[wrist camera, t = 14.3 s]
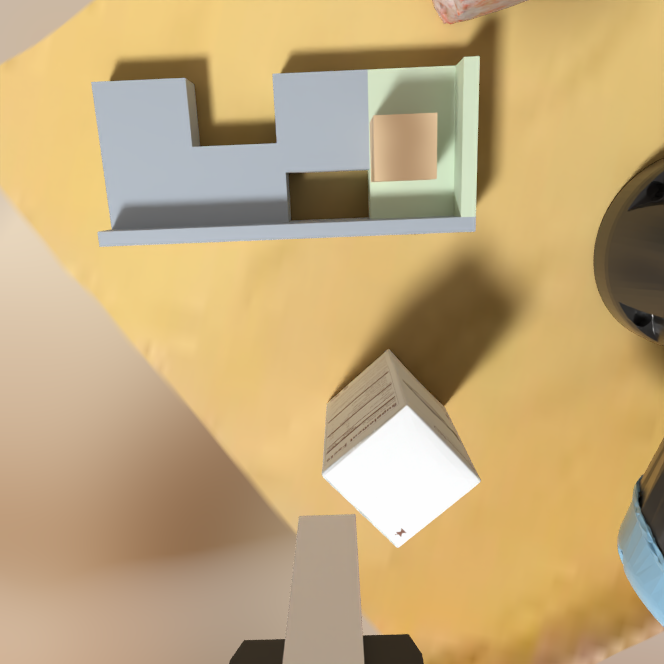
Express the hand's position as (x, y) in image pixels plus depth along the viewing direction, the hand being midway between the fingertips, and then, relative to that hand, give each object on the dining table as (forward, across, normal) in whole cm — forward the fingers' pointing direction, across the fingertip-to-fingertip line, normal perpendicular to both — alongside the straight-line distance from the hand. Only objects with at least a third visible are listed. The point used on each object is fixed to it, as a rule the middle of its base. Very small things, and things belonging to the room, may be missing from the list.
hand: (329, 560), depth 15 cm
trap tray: (+30, +3, -12) cm, 33 cm away
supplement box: (+31, -4, +8) cm, 32 cm away
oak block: (+28, -5, -12) cm, 31 cm away
